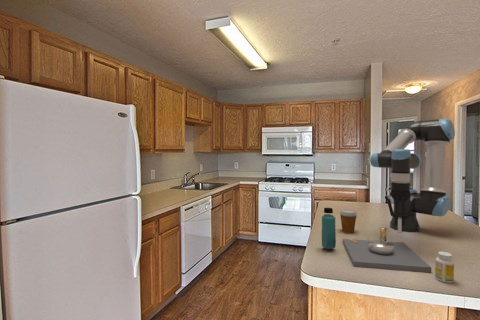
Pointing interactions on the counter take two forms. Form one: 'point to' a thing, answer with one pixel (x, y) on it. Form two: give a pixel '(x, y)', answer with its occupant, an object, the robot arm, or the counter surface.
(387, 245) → the metal ladle
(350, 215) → the disposable coffee cup
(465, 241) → the counter surface
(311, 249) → the counter surface
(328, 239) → the beverage bottle
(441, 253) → the supplement bottle
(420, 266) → the stand
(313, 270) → the counter surface
